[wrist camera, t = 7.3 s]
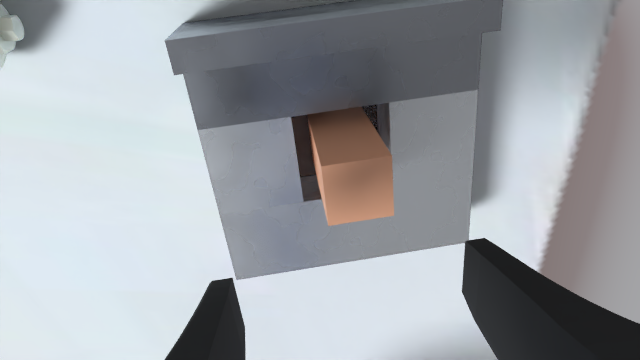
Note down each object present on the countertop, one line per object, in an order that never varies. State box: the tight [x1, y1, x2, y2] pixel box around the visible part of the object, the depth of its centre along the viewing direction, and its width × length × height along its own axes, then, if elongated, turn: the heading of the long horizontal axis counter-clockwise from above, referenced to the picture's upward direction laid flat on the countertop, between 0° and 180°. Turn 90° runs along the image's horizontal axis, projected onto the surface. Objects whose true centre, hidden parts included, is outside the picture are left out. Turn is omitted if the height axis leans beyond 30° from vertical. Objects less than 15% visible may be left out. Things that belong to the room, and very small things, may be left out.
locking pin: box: [307, 107, 394, 226], centre depth 19 cm, size 3×3×6 cm
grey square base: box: [165, 0, 503, 280], centre depth 20 cm, size 12×12×4 cm
